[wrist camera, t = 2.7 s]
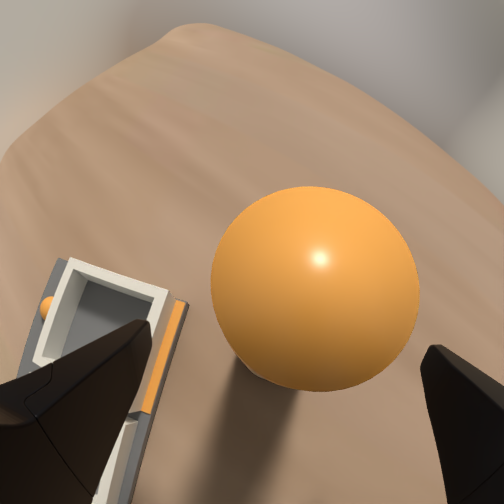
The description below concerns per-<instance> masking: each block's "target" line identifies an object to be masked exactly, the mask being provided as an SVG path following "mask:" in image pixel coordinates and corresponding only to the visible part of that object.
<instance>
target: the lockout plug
mask: <svg viewBox="0 0 504 504" xmlns="http://www.w3.org/2000/svg"><path fill="white" fill-rule="evenodd" d="M419 291H420V290H419V280H418V274H417V270H416V266H415V263H414V260H413V257H412V254H411V252H410V250H409V248H408V246H407V244H406V242H405V241H404V239H403V238H402V236H401V235H400V233H399V232H398V230H397V229H396V228H395V227H394V225H393V224H392V223H391V222H390V221H389V220H388V219H387V218H386V217H385V216H384V215H383V214H382V213H380V212H379V211H378V210H376V209H375V208H374V207H373V206H371V205H369V204H368V203H366V202H364V201H363V200H361V199H359V198H357V197H355V196H353V195H350V194H347V193H344V192H341V191H338V190H334V189H329V188H323V187H297V188H289V189H286V190H282V191H278V192H275V193H273V194H270V195H267V196H265V197H263V198H262V199H260V200H258V201H256V202H255V203H253V204H252V205H250V206H249V207H248V208H246V209H245V210H244V211H243V212H242V213H241V214H240V215H239V216H237V217H236V219H235V220H234V221H233V222H232V223H231V225H230V226H229V227H228V229H227V230H226V232H225V234H224V235H223V237H222V239H221V241H220V243H219V245H218V248H217V250H216V253H215V257H214V261H213V264H212V272H211V295H212V302H213V307H214V311H215V314H216V317H217V320H218V323H219V325H220V327H221V329H222V331H223V333H224V335H225V337H226V339H227V341H228V343H229V345H230V346H231V348H232V349H233V351H234V352H235V354H236V355H237V356H238V357H239V358H240V359H241V361H242V362H243V363H244V364H245V365H246V366H247V368H248V369H249V370H250V371H251V372H252V373H253V374H255V375H256V376H258V377H260V378H263V379H266V380H268V381H270V382H273V383H275V384H277V385H280V386H284V387H287V388H291V389H297V390H304V391H313V392H329V391H336V390H342V389H346V388H349V387H353V386H356V385H359V384H361V383H363V382H365V381H367V380H369V379H371V378H373V377H374V376H376V375H377V374H379V373H380V372H382V371H383V370H384V369H385V368H386V367H387V366H388V365H390V364H391V363H392V362H393V361H394V360H395V358H396V357H397V356H398V355H399V354H400V352H401V351H402V349H403V348H404V346H405V345H406V343H407V341H408V340H409V337H410V335H411V333H412V331H413V328H414V325H415V322H416V318H417V314H418V308H419Z"/></svg>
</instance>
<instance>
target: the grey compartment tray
mask: <svg viewBox="0 0 504 504" xmlns="http://www.w3.org/2000/svg"><path fill="white" fill-rule="evenodd" d="M188 308H189V304H188V302H186V301H183V300H180V299H176V298H174V296H173V295H172V294H171V293H170V291H169V290H166V289H163V288H160V287H157V286H153V285H150V284H147V283H144V282H141V281H138V280H135V279H132V278H129V277H126V276H123V275H120V274H117V273H114V272H111V271H108V270H105V269H102V268H99V267H97V266H94V265H91V264H88V263H85V262H82V261H80V260H77V259H74V258H71V257H70V259H69V261H66V260H63V259H61V258H58V259H57V261H56V264H55V266H54V268H53V271H52V273H51V275H50V278H49V280H48V283H47V285H46V288H45V290H44V293H43V296H42V298H41V301H40V303H39V306H38V309H37V312H36V315H35V317H34V320H33V323H32V326H31V329H30V332H29V336H28V339H27V342H26V345H25V349H24V352H23V356H22V359H21V363H20V366H19V370H18V374H17V378H19V377H21V376H24V375H26V374H28V373H31V372H33V371H35V370H37V369H39V368H41V367H43V366H45V365H47V364H49V363H51V362H52V363H53V361H55V360H57V359H59V358H61V357H63V356H65V355H67V354H69V353H71V352H73V351H75V350H77V349H79V348H80V347H82V346H84V345H86V344H88V343H90V342H92V341H94V340H96V339H98V338H100V337H102V336H104V335H106V334H108V333H110V332H112V331H114V330H116V329H118V328H119V327H121V326H123V325H125V324H127V323H129V322H131V321H133V320H135V319H142V320H147V321H149V323H150V326H151V335H152V349H151V352H150V355H149V358H148V362H147V365H146V368H145V371H144V375H143V378H142V381H141V384H140V387H139V390H138V392H137V395H136V397H135V399H134V401H133V404H132V406H131V408H130V410H129V413H128V415H127V417H126V420H125V422H124V424H123V427H122V429H121V431H120V434H119V436H118V438H117V441H116V443H115V446H114V448H113V450H112V453H111V455H110V458H109V460H108V462H107V465H106V467H105V470H104V472H103V475H102V477H101V480H100V482H99V485H98V487H97V490H96V493H95V495H94V497H92V498H93V501H92V503H91V504H131V501H132V497H133V493H134V489H135V485H136V481H137V478H138V474H139V470H140V466H141V462H142V459H143V455H144V451H145V448H146V444H147V441H148V437H149V434H150V430H151V427H152V423H153V420H154V416H155V413H156V409H157V406H158V403H159V399H160V396H161V393H162V389H163V386H164V383H165V379H166V376H167V373H168V370H169V367H170V363H171V360H172V357H173V354H174V351H175V348H176V344H177V341H178V338H179V335H180V332H181V329H182V326H183V323H184V320H185V317H186V314H187V311H188Z"/></svg>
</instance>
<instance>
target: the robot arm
mask: <svg viewBox="0 0 504 504" xmlns="http://www.w3.org/2000/svg"><path fill="white" fill-rule="evenodd" d="M151 349H152V335H151V326H150V323H149V321H147V320H142V319H135V320H133V321H131V322H129V323H127V324H125V325H123V326H121V327H119V328H118V329H116V330H114V331H112V332H110V333H108V334H106V335H104V336H102V337H100V338H98V339H96V340H94V341H92V342H90V343H88V344H86V345H84V346H82V347H80V348H79V349H77V350H75V351H73V352H71V353H69V354H67V355H65V356H63V357H61V358H59V359H57V360H55V361H53V363H52V362H51V363H49V364H47V365H45V366H43V367H41V368H39V369H37V370H35V371H33V372H31V373H28V374H26V375H24V376H21V377H19V378H16V379H14V380H11V381H9V382H6V383H4V384H1V385H0V504H91V503H92V501H93V498H92V497H94V495H95V493H96V490H97V487H98V485H99V482H100V480H101V477H102V475H103V472H104V470H105V467H106V465H107V462H108V460H109V458H110V455H111V453H112V450H113V448H114V446H115V443H116V441H117V438H118V436H119V434H120V431H121V429H122V427H123V424H124V422H125V420H126V417H127V415H128V413H129V410H130V408H131V406H132V404H133V401H134V399H135V397H136V395H137V392H138V390H139V387H140V384H141V381H142V378H143V375H144V371H145V368H146V365H147V362H148V358H149V355H150V352H151ZM420 372H421V377H422V382H423V387H424V393H425V399H426V405H427V409H428V413H429V417H430V421H431V425H432V429H433V433H434V437H435V441H436V446H437V450H438V455H439V459H440V464H441V469H442V474H443V480H444V485H445V491H446V497H447V504H504V386H503V385H501V384H500V383H498V382H497V381H495V380H494V379H492V378H491V377H489V376H488V375H487V374H485V373H484V372H482V371H481V370H479V369H478V368H476V367H475V366H473V365H472V364H470V363H469V362H467V361H465V360H464V359H462V358H461V357H459V356H458V355H456V354H455V353H453V352H452V351H450V350H449V349H447V348H446V347H444V346H443V345H430V346H429V348H428V350H427V352H426V354H425V356H424V358H423V360H422V363H421V366H420Z"/></svg>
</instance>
